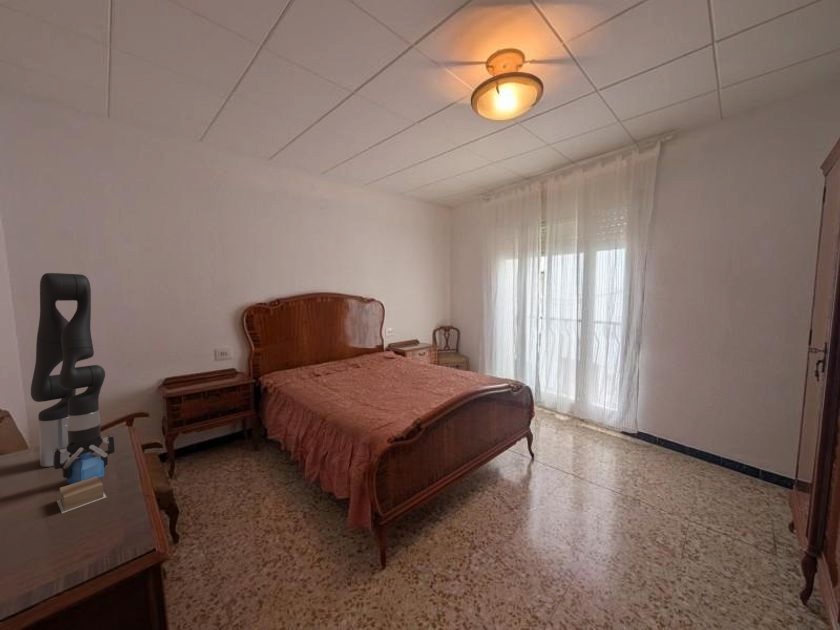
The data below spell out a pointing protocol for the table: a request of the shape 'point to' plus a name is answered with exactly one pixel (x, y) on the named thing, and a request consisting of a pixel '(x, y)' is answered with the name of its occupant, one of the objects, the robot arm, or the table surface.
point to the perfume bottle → (85, 467)
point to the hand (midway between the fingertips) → (85, 472)
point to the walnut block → (81, 493)
